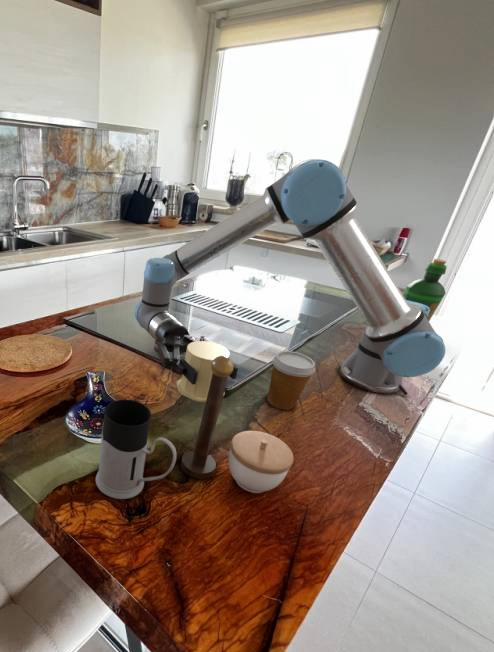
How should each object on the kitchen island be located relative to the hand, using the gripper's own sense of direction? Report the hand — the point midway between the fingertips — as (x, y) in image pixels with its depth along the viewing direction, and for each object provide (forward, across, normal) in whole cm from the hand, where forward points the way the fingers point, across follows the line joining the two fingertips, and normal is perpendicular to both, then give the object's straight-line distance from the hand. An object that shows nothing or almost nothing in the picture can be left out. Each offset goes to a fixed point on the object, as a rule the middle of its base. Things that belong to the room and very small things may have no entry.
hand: (215, 376), depth 88 cm
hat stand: (+14, +10, -11) cm, 21 cm away
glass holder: (+16, +24, -11) cm, 31 cm away
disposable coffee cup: (-1, -22, -11) cm, 25 cm away
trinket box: (+20, +2, -11) cm, 23 cm away
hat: (-4, 0, -6) cm, 7 cm away
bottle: (-23, -91, -11) cm, 94 cm away
